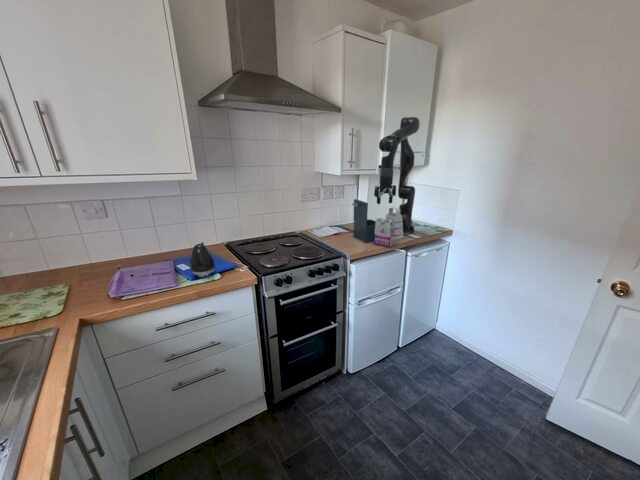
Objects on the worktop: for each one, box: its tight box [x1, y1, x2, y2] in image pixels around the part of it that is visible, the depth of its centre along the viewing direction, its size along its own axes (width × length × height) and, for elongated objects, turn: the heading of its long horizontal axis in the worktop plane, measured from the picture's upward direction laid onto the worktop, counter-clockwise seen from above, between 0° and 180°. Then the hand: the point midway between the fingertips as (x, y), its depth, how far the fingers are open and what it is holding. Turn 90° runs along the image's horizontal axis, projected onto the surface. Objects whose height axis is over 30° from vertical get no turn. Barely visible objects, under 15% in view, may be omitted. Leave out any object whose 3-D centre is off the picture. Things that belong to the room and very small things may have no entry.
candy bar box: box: [373, 217, 395, 248], centre depth 185 cm, size 11×5×16 cm, turn 58°
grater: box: [385, 206, 404, 241], centre depth 201 cm, size 10×10×20 cm
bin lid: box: [352, 198, 369, 226], centre depth 189 cm, size 14×15×5 cm
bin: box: [352, 218, 375, 244], centre depth 199 cm, size 14×15×11 cm
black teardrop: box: [189, 241, 216, 278], centre depth 137 cm, size 10×10×15 cm
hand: (384, 203), depth 179 cm, fingers open, 8 cm apart
